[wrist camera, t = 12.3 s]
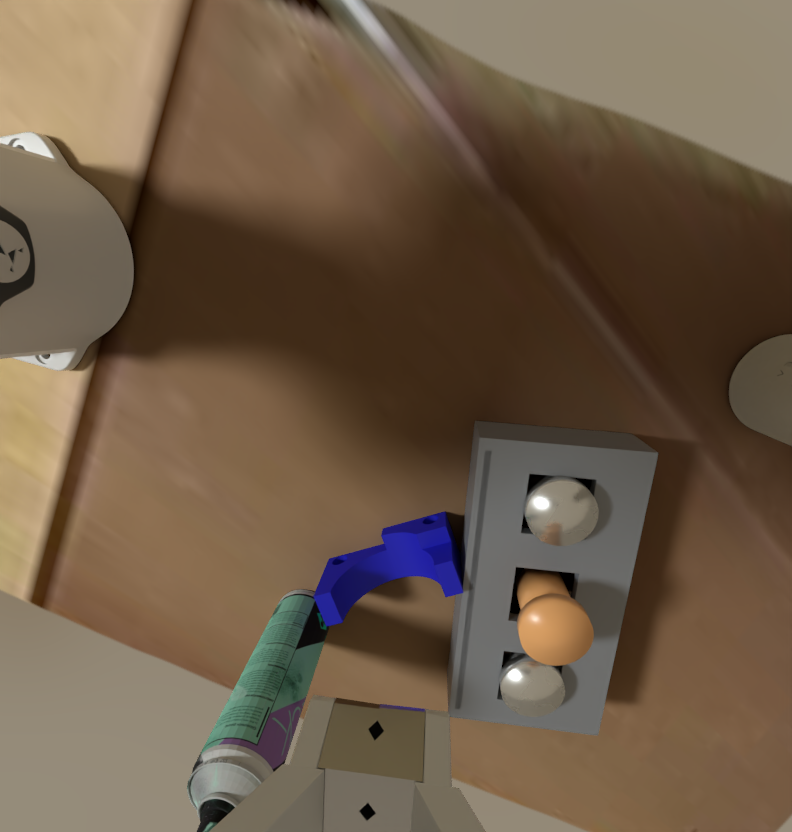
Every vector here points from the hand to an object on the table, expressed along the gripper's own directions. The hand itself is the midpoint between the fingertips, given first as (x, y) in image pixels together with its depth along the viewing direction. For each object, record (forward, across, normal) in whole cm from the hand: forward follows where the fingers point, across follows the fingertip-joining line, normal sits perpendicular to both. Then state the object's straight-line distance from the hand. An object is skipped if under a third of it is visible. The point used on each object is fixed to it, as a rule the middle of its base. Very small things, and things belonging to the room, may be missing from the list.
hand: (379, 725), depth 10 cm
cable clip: (+32, +2, +14) cm, 35 cm away
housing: (+31, -11, +14) cm, 36 cm away
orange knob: (+28, -11, +14) cm, 33 cm away
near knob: (+31, -11, +6) cm, 34 cm away
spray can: (+31, +10, +22) cm, 40 cm away
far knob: (+31, -11, +22) cm, 40 cm away
